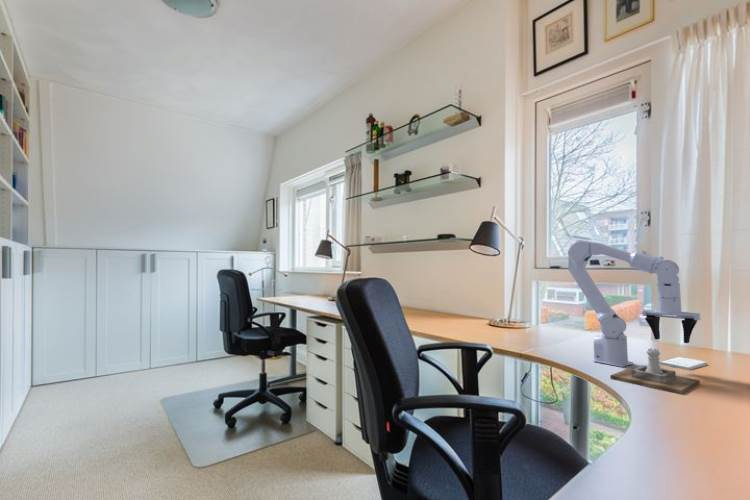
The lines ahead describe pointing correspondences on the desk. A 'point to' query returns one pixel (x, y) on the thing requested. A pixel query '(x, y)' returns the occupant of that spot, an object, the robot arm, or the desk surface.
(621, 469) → the desk surface
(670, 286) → the robot arm
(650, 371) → the rook chess piece
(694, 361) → the external hard drive
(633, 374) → the socket board
